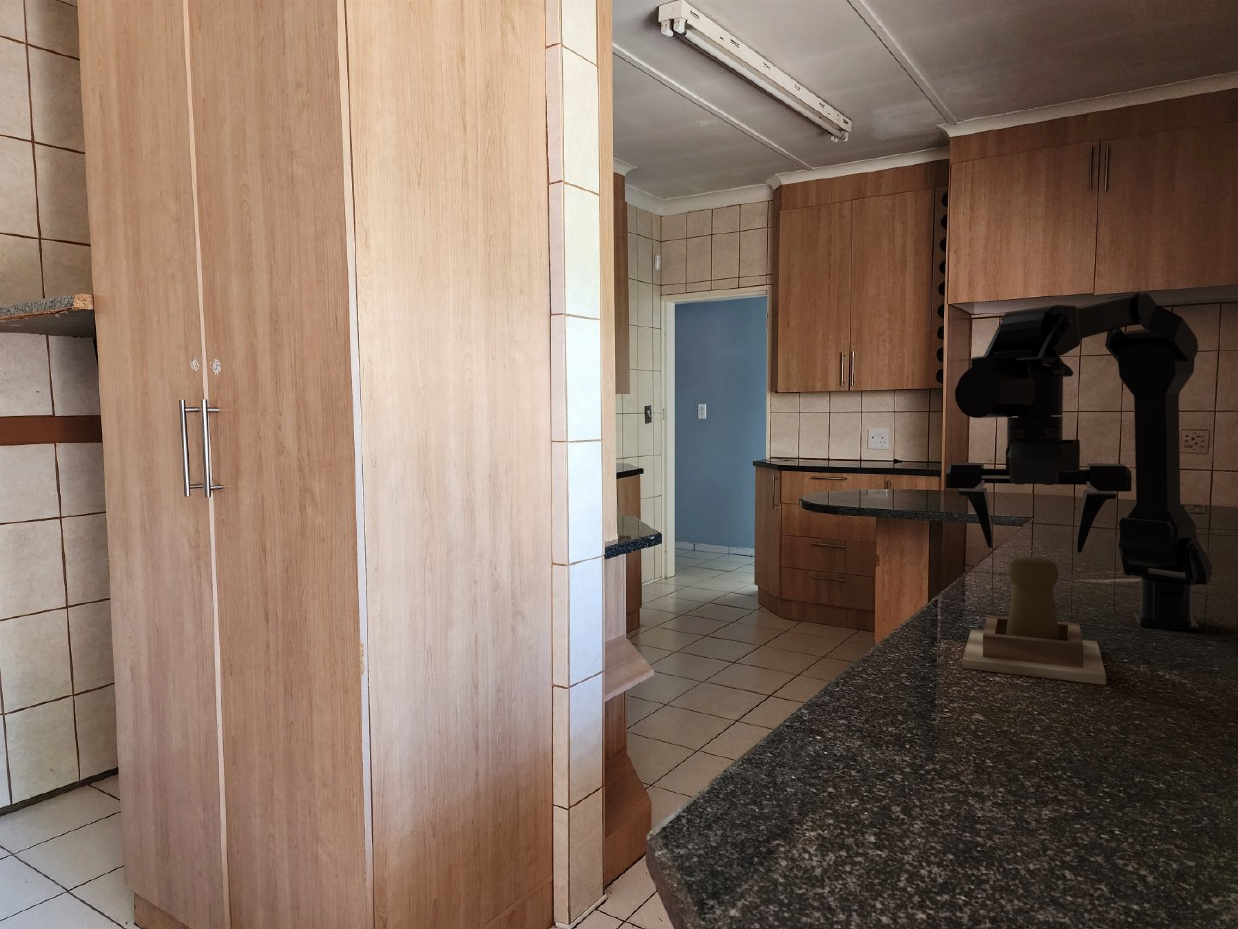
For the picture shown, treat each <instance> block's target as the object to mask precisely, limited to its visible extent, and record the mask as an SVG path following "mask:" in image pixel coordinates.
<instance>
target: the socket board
mask: <svg viewBox="0 0 1238 929" xmlns="http://www.w3.org/2000/svg"><path fill="white" fill-rule="evenodd" d="M1007 623H1008V616H997V615H987V616H986V620H985V624H984V629H983V630H982V629H971V630H970V633H969V636H968V640H967V642H966V647H965V650H964V653H963V657H962V669H966V670H977V671H982V672H983V671H985V672H992V673H993V672H994V673H1003V674H1008V675H1009V674H1010V675H1019V676H1028V677H1035V678H1044V679H1052V680H1060V681H1069V682H1079V683H1088V684H1094V685H1095V684H1096V685H1105V686H1106V685H1107V674H1106V670H1105V667H1104V666H1105V665H1104V663H1103V659H1102V655H1101V651H1100V649H1099V648H1100V647H1099V645H1098V641H1097V640H1087V639H1085V640H1084V639H1083V637H1082V636H1083V635H1082V632H1081V627H1080V623H1076V622H1065V621H1057V624H1058V631H1059V639H1060V640H1052V639H1042V638H1031V637H1021V636H1011V635H1006V629H1007Z"/></svg>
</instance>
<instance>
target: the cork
mask: <svg viewBox="0 0 1238 929" xmlns="http://www.w3.org/2000/svg"><path fill="white" fill-rule="evenodd" d="M1007 572H1008V576H1009V577H1008V578H1009V580H1010V582H1012V584H1013V586H1012V592H1011V598H1010V599H1011V600H1010V605H1009V611H1008V616H1007V617H1008V623H1007V629H1006V635H1011V636H1021V637H1031V638H1042V639H1052V640H1060V639H1059V631H1058V624H1057V622H1058V618H1057V612H1056V604H1055V597H1054V596H1055V595H1054V589H1053V588H1054V586H1055V585H1056V584H1057V581H1058V579H1059V570H1058V567H1057V565H1056V563H1055V562H1054V561H1053V560H1051V559H1048V558H1045V557H1039V556H1021V557H1016V558H1014V559H1012V560H1011V561H1010V563H1009V564H1008V570H1007Z"/></svg>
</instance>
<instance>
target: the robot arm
mask: <svg viewBox="0 0 1238 929" xmlns="http://www.w3.org/2000/svg"><path fill="white" fill-rule="evenodd" d="M1000 320H1001V323H1000V324H999V325H998V326H997V328H996V330H995V333H994V335H993V336H992V338H991V341H990V342H989V344H988V346H987V348H986V349H985V352H984V353H983V355H982V356H973V357H971V359H970V368H968V369H967V370H966V371H964V373H963V374H962V375H961V376H960V378H959V380H958V382H957V385H956V387H955V388H954V397H955V402H956V405H957V407H958V408H959V410H960V411H961V412H962V414H964V416H968V417H970V418H973V419H974V418H975V419H983V418H984V419H986V418H987V419H988V418H989V419H991V418H1006V425H1007V426H1006V429H1007V430H1006V449H1005V468H985V462H953V463H952V464H950V465H949V466H948V467H946V470H945V489H958V491H957V495H958V496H961V497H962V496H965V497H966V498H967V500H968V501H969V502H970V505H971V506H972V508H973V510H974V513H975V514H976V516H977V518H978V521H979V525H980V527H981V531H982V533H983V537H984V539H985V542H986V544H987V545H986V546H987V548H988V549H993V529H992V519H991V512H990V505H989V504H990V503H989V493H988V487H985V485H986V484H1008V485H1009V484H1013V485H1044V486H1054V485H1063V486H1064V485H1069V486H1070V485H1071V486H1072V485H1074V486H1075V485H1077V486H1080V485H1082V486H1085V488H1086V489H1083V491H1082V492H1083V494H1082V499H1081V506H1080V513H1079V518H1078V520H1079V521H1078V526H1077V534H1076V552H1077V553H1078V554H1081V553H1082V552H1083V549H1084V547H1085V543H1086V541H1087V539H1088V537H1089V533H1090V531H1091V529H1092V527H1093V523H1094V520H1095V519H1096V516H1097V515H1098V513H1099V512H1100V510H1101V509H1102V507H1103V506H1104V504H1105V502H1106V501H1107V500H1117V498H1118V494H1117V493H1116V492H1124V493H1127V492H1128V493H1129V492H1132V486H1133V485H1132V477H1133V476H1132V470H1131V469H1129V467H1127V466H1126V465H1125V464H1123V463H1097V462H1096V463H1091V462H1090V463H1087V464H1086V465H1087V467H1086V469H1085V468H1084V469H1083V468H1080V465H1081V464H1080V463H1081V462H1080V461H1081V452H1080V451H1081V442H1080V439H1063V433H1064V432H1063V428H1064V427H1063V426H1064V423H1063V421H1064V419H1063V418H1064V416H1063V414H1064V413H1063V412H1064V378H1070V377H1073V375H1074V370H1073V369H1072V368H1071V366H1069V365H1068V364H1066V363H1064V361H1063V360H1062V356H1064V355H1066V354H1068V353H1069V352H1071V351H1073V350H1074V349H1076V348H1078V347H1079V346H1080V345H1081V341H1082V340H1083V339H1085V338H1089V337H1092V336H1096V335H1100V334H1103V333H1106V339H1105V344H1104V347H1105V348H1106V350H1107V351H1108V352H1109V353H1110V354H1111V356H1112V357H1113V358H1114V360H1116V362H1117V367H1118V377H1119V378H1120V380H1121V382H1123V384H1124V386H1125V387H1126V388H1127V389H1128V391H1129V392H1130V393H1131V394H1132V396H1133V401H1134V402H1133V403H1134V404H1133V407H1134V408H1133V411H1134V417H1133V418H1134V458H1135V459H1134V462H1135V466H1134V468H1135V505H1134V506H1133V507H1132V509H1131V510H1130V511H1129V513H1128V515H1127V516H1126V517H1125V516H1123V517H1121V519H1119V522H1118V528H1119V542H1118V547H1119V554H1120V558H1121V559H1120V560H1121V562H1122V567H1123V573H1124V575H1125V576H1134V577H1139V578H1140V611H1135V612H1134V616H1135V619H1136V620H1137V622H1138V625H1139V626H1142V627H1151V628H1153V627H1155V628H1165V629H1167V628H1168V629H1174V630H1175V629H1176V630H1189V631H1199V630H1200V626H1199V625H1198V624H1197V622H1196V621H1195V620H1194V618H1193V617H1192V614H1193V586H1196V585H1200V586H1201V585H1204V586H1205V585H1209V582H1210V581H1211V577H1212V575H1213V573H1212V572H1213V566H1214V565H1213V564H1212V562H1211V561H1210V559H1209V557H1208V555H1207V553H1206V552H1205V550H1204V549H1203V547H1202V545H1201V543H1200V541H1198V534H1197V526H1196V523H1195V521H1194V520H1193V518H1192V517H1191V516H1190V514H1189V513H1188V512H1187V510H1186V509H1185V508H1184V506H1183V505H1182V504H1181V465H1180V459H1181V458H1180V457H1181V456H1180V393H1181V392H1182V390H1183V389H1184V388H1185V385H1186V384H1187V383H1188V381H1189V380H1190V379H1191V377H1192V376H1193V374H1194V372H1195V371H1194V370H1195V361H1196V359H1195V358H1196V356H1197V355H1198V350H1199V343H1198V338H1197V336H1196V334H1195V333H1194V331H1193V330H1192V328H1191V327H1190V326H1189V325H1188V323H1187V321H1185V319H1184V318H1183V317H1182V316H1181V315H1178V314H1176V313H1174V312H1172V310H1171V311H1170V310H1168V309H1166V308H1165V307H1163V306H1160V305H1158V304H1157V303H1156V301H1154V299H1153V297H1152V296H1151V295H1150V294H1149V293H1143V292H1140V291H1138V292H1137V291H1136V292H1131V293H1130V292H1129V293H1123V294H1117V295H1111V296H1107V297H1106V298H1103V299H1101V300H1097V301H1094V302H1089V303H1085V304H1080V305H1074V304H1073V305H1071V304H1055V305H1046V306H1041V307H1034V308H1033V307H1032V308H1027V309H1026V308H1025V309H1020V310H1011V311H1008V312H1007V313H1004V314H1003V316H1001V319H1000ZM1138 325H1141V327H1142V328H1140V329H1138V328H1137V329H1130V330H1127V331H1126V332H1124V331H1123V330H1122V328H1126V327H1131V326H1138Z"/></svg>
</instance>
